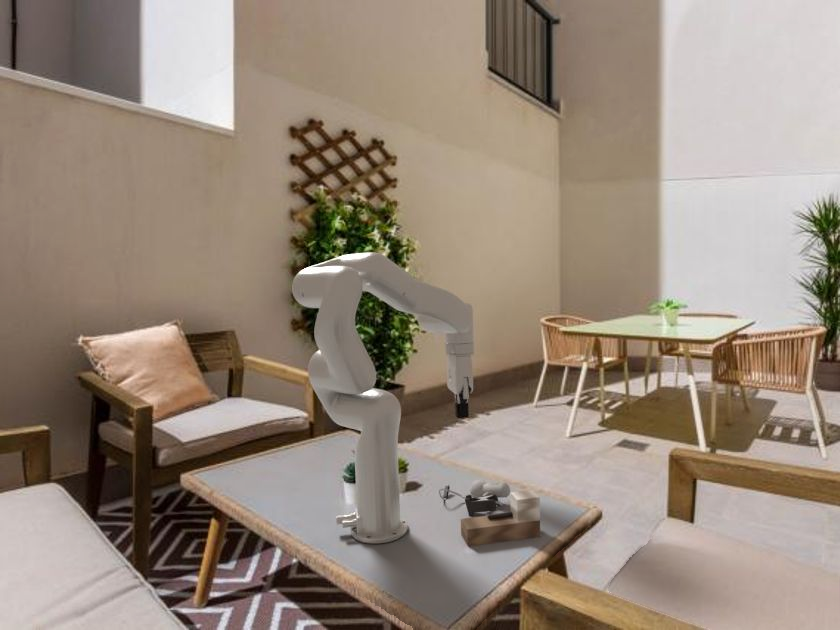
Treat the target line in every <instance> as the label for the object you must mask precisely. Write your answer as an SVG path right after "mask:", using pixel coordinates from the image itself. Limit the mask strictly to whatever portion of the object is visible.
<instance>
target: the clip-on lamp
mask: <svg viewBox="0 0 840 630" xmlns="http://www.w3.org/2000/svg"><path fill="white" fill-rule="evenodd" d="M441 491H444V492H443V495H442V494H441ZM510 492H511V488H510V486H509V484H508V483H506V482H488V483H487V482H486V481H485V480H482V479H476V480H474V481H473V482H472V483H471V486H470V487H469V493H468V494H467V495H465V496H464V495H461V494H460V493H458V492H455V491H453V490H452V489H451V490H450V484H449V483H448V484H446V485H445V486H444V488H440V489H439V490H438V494H439V497H440V498H441V500H442V501H446V499H448V498H449V494H450V493H451V494H454V495H456V496H459V497H460V498H462V499H464V503H465V507H466V510H467V513H468V516H469V517H475V513H486V512H496V511H497V510H498V505H500V506H502V507H503V506H504V503H503V502H501V501H499V498H508V497H509V496H510Z"/></svg>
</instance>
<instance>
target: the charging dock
mask: <svg viewBox="0 0 840 630" xmlns="http://www.w3.org/2000/svg"><path fill="white" fill-rule="evenodd" d="M509 496H510V497H509V498H510V499H509V502H510V511H507V512H505V511H504V512H498V513H497V512H496V513H490V514H485V515H481V516H471V517H466V518H460V535H461V537H462V539H463V541H464V542H465V544H466V545H467V547H470V546H478V545H486V544H493V543H502V542H508V541H514V540H515V541H516V540H523V539H529V538H532V539H533V538H539V537H541V507H540V506H541V504H540V502H541V501H540V496H539V495H538V494H537V493H536V492H535V491H534V490H532V489H530V490H521V491H510V494H509Z"/></svg>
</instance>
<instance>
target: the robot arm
mask: <svg viewBox="0 0 840 630" xmlns="http://www.w3.org/2000/svg"><path fill="white" fill-rule="evenodd" d="M291 285H292V286H291V292H292V295H293V298H294V299H295V300H296V302H297V304H300V305H301V306H303V307H304V308H305V307H306V308H309V309H318V313H317V317H316V319H315V325H314V330H313V331H314V332H313V333H314V335H313V336H314V341H315V343H316V346H317V348H318V350H316V352H315V353H313V354H312V356H311V358H310V360H309V361H308V367H307V374H308V380H309V383H310V385H311V387H312V389H313V391H314V392H315V394H316V396H317V398H318V400H319V402H320V403H321V404H322V406H323V409H325V411H326V413H327V415H328V416H329V418H330V419H331V420H332V421H333V422H334V423H335V424H336V425H338V426H341V427H345V428H348V429H353V430H356V431H360V436H359V438H358V441H357V443H356V446H355V448H354V470H355V471H354V472H355V476H354V477H355V492H356V493H355V497H356V498H355V499H356V506H355V507H354V511H353V512H350V514H349V513H348V514H338V515H336V518H335V519H336V525H337V526H338V525H342V529H346V528H350V534H351V536H352V537H353V538H354V539H355V540H357V541H359V542H361V543H366V544H373V545H374V544H386V543H389V542H393V541H395V540H398V539H400V538H401V537H404V535H405V534H406V533H407V531H408V530H409V529H408V528H409V526H408V522H407V520H406V518H404V517H403V516H401V506H400V505H401V501H400V481H399V480H400V477H399V476H400V475H399V447H398V446H399V445H398V444H399V443H398V441H399V439H398V438H399V431H400V422H401V415H402V407H401V403H400V401H399V399H398V398H397V397H396V396H395V395H394V394H393V393H392V392H390V391H387V390H385V389H380V388H374V386H375V384H376V381H377V372H376V368H375V365H374V364H373V361H372V359H371V357H370V355H369V353H368V351H367V349H366V346H365V345H364V343H363V341H362V338H360V335H359V332H358V330H357V328H356V327H357V326H356V314H357V309H358V306H359V303H360V300H361V298H362V294H363V292H368V293H370V294H372V295H373V296H375V297H376V298H378V299H380V300H381V301H382V302H384V303H386V304H387V305H388V306H390V307H391V308H393V309H395V310H396V311H399V312H402V313H405V314H406V313H407V314H410V315H416V316H417V323H418V325H419V328H421V330H422V331H425V332H426V333H430V334H444V342H445V344H444V345H445V348H444V349H445V356H447V364H446V365H447V366H446V367H447V368H446V386H447V388H448V390H449V391H451V392H452V393H453V394H454V409H455V410H454V411H455V412H454V413H455V417H456V418H457V419H467V418H469V412H470V411H469V399H470V394H472V393H473V391H474V375H473V374H474V373H473V362H472V361H473V360H472V356H474V355H475V347H474V346H475V343H474V342H475V341H474V316H473V315H474V313H473V312H474V310H473V306H472V304H471V303H469V302H464V300H462V299H461V298H460V297H458V296H457V295H455V294H454V293H452V292H450V291H448V290H446V289H443V288H441V287H438V286H435V285H432V284H430V283H428V282H425V281H422V280H419V279H417V278H415V277H414V276H413V275H411V274H410V273H408V272H407V271H406V270H404V269H403V268H402V267H400V266H399V265H397V264H396V263H395V262H394V261H392V260H391V259H390V258H388V257H387V256H386V255H383V254H382V253H379V252H374V251H373V252H372V251H367V252H358V253H350V254H344V255H341V256H339V257H335V258H332V259H329V260H326V261H324V262H320V263H318V264H317V263H316V264H314V265H311V266H308V267H306V268H304V269H302V270H300V271H299V272H298V273H297V274H296V275H295V276H294V279H293V281H292V284H291Z"/></svg>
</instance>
